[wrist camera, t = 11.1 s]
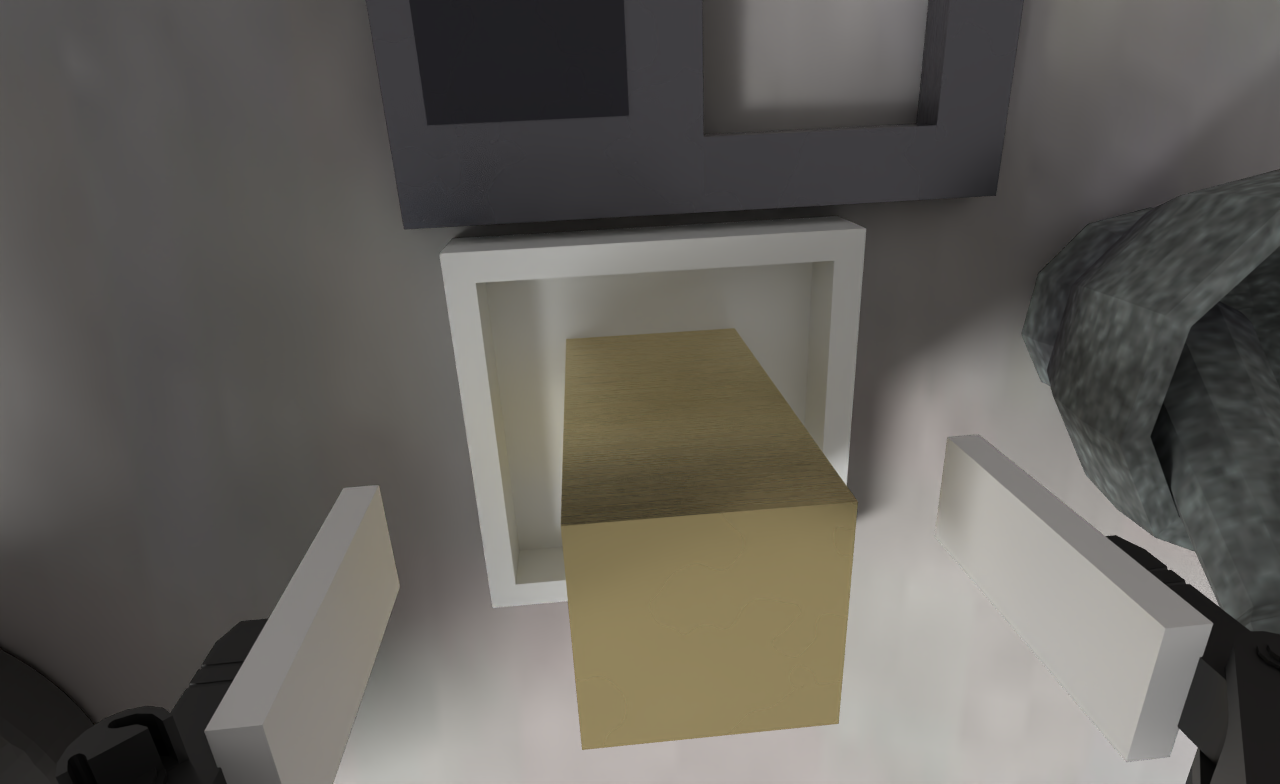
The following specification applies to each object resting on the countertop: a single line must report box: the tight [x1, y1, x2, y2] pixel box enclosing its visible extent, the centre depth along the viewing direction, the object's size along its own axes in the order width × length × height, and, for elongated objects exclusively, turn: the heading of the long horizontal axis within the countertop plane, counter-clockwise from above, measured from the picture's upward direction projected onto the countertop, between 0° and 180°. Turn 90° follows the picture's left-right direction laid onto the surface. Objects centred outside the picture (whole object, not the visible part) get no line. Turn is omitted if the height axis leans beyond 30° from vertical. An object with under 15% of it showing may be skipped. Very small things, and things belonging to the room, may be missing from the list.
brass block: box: [561, 328, 858, 750], centre depth 17 cm, size 5×5×10 cm
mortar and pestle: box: [1022, 169, 1280, 634], centre depth 17 cm, size 11×9×12 cm
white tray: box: [439, 216, 866, 608], centre depth 21 cm, size 11×11×2 cm
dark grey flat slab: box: [366, 0, 1024, 229], centre depth 18 cm, size 16×10×1 cm, turn 92°
